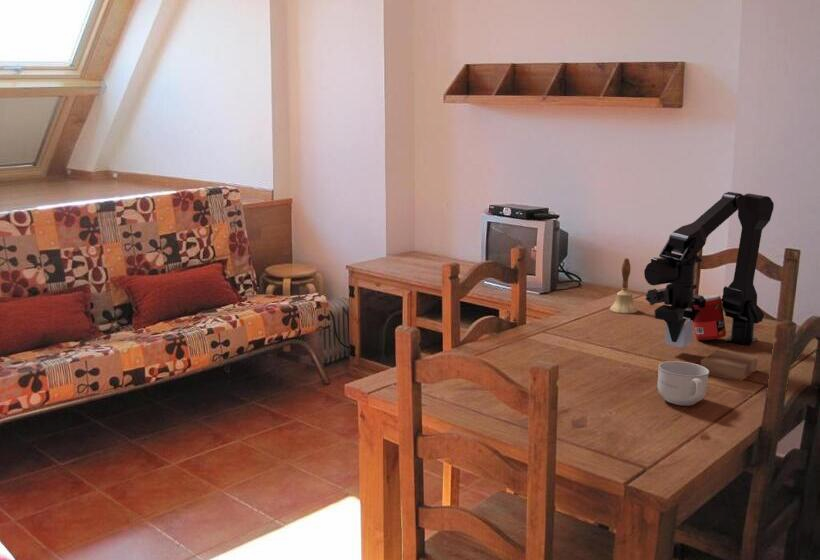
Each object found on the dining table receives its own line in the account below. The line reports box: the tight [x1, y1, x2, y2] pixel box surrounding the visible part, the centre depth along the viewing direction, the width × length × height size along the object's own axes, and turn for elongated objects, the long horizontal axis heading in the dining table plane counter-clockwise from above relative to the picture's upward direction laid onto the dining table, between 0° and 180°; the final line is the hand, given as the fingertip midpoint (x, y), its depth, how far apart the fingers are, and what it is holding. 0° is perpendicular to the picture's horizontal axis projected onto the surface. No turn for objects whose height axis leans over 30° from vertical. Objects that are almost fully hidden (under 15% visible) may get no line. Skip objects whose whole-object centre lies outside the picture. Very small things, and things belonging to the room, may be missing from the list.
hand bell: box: [609, 258, 639, 315], centre depth 273 cm, size 8×8×16 cm
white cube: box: [664, 317, 694, 348], centre depth 233 cm, size 5×5×7 cm
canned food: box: [693, 294, 727, 341], centre depth 244 cm, size 8×8×11 cm
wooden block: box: [700, 349, 758, 382], centre depth 221 cm, size 10×10×4 cm
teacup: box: [656, 360, 710, 406], centre depth 200 cm, size 14×11×8 cm
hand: (678, 339), depth 233 cm, fingers closed on white cube, 5 cm apart
